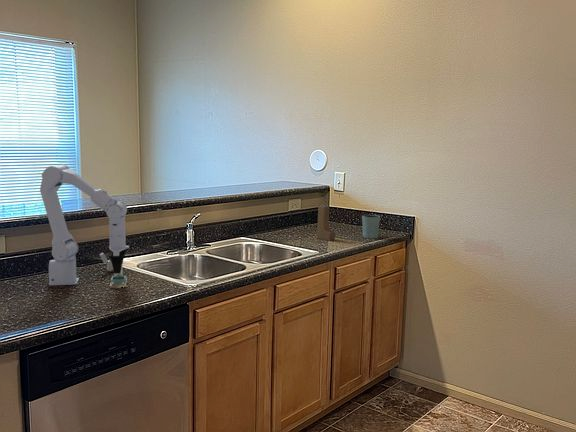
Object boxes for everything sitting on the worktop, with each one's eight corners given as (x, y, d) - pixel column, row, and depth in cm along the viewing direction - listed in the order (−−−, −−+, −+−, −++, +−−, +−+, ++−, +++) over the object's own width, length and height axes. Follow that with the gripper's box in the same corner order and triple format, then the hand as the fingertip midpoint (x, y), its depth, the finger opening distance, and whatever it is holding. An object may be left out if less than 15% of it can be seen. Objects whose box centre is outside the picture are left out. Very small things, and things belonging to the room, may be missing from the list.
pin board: (109, 288, 204) (109, 281, 204) (112, 281, 213) (111, 274, 213) (125, 287, 206) (125, 281, 205) (127, 280, 215) (126, 274, 214)
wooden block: (334, 239, 302) (336, 207, 299) (329, 241, 298) (331, 207, 296) (322, 237, 308) (323, 205, 305) (316, 238, 305) (318, 205, 302)
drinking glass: (373, 239, 306) (374, 217, 304) (357, 236, 312) (358, 215, 310) (382, 236, 314) (383, 215, 312) (366, 234, 320) (367, 213, 318)
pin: (114, 282, 208) (113, 264, 206) (114, 280, 211) (114, 262, 209) (122, 282, 208) (122, 264, 207) (123, 280, 211) (122, 262, 210)
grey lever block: (116, 269, 231) (115, 250, 229) (118, 270, 229) (117, 251, 228) (99, 272, 226) (99, 252, 225) (101, 272, 225) (101, 253, 223)
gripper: (127, 238, 200) (128, 275, 203) (129, 230, 214) (130, 265, 217) (107, 238, 199) (107, 275, 201) (110, 231, 213) (111, 265, 215)
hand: (118, 270), depth 209 cm, fingers open, 7 cm apart
